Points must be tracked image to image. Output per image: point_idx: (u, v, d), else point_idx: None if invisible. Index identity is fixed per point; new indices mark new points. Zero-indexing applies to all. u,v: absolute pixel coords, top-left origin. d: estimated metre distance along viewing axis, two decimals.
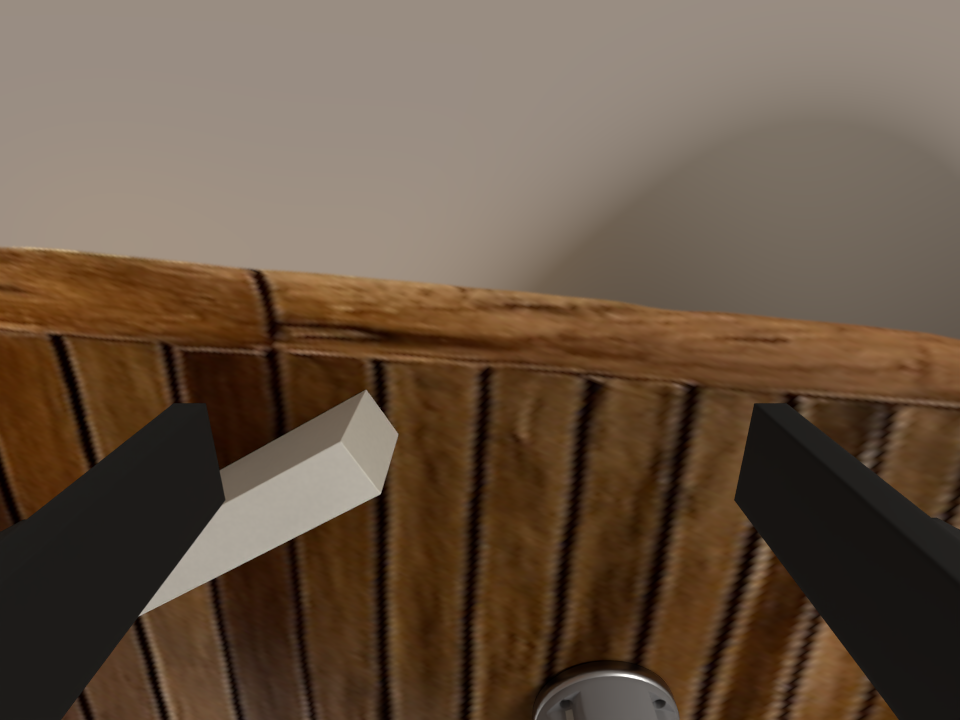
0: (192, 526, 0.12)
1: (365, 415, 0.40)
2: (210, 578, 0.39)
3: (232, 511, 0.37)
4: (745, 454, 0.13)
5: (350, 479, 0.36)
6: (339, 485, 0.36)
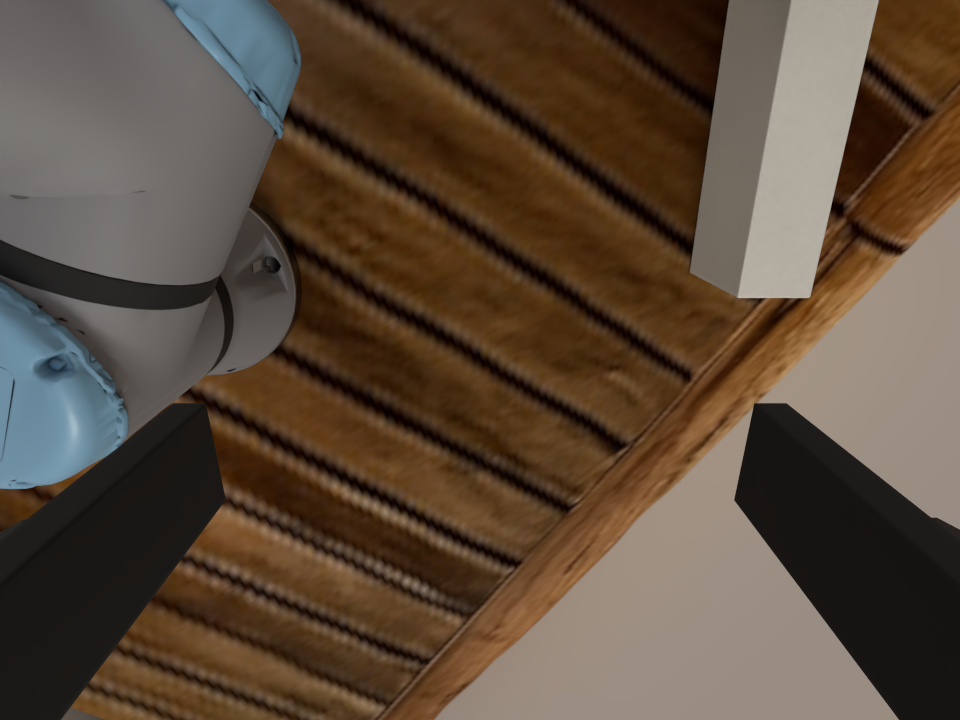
0: (192, 527, 0.12)
1: None
2: (788, 31, 0.29)
3: (834, 135, 0.31)
4: (745, 454, 0.13)
5: (771, 281, 0.34)
6: (774, 266, 0.34)
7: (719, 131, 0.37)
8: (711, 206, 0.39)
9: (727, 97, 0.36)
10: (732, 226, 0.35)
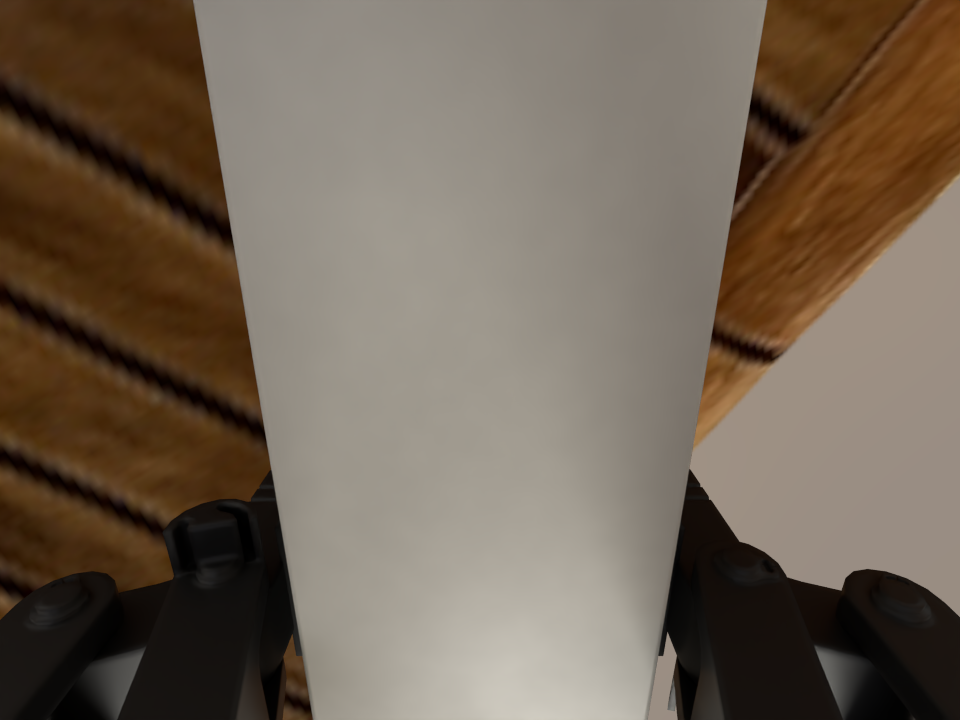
0: None
1: None
2: None
3: (648, 252, 0.05)
4: None
5: None
6: None
7: None
8: None
9: None
10: None
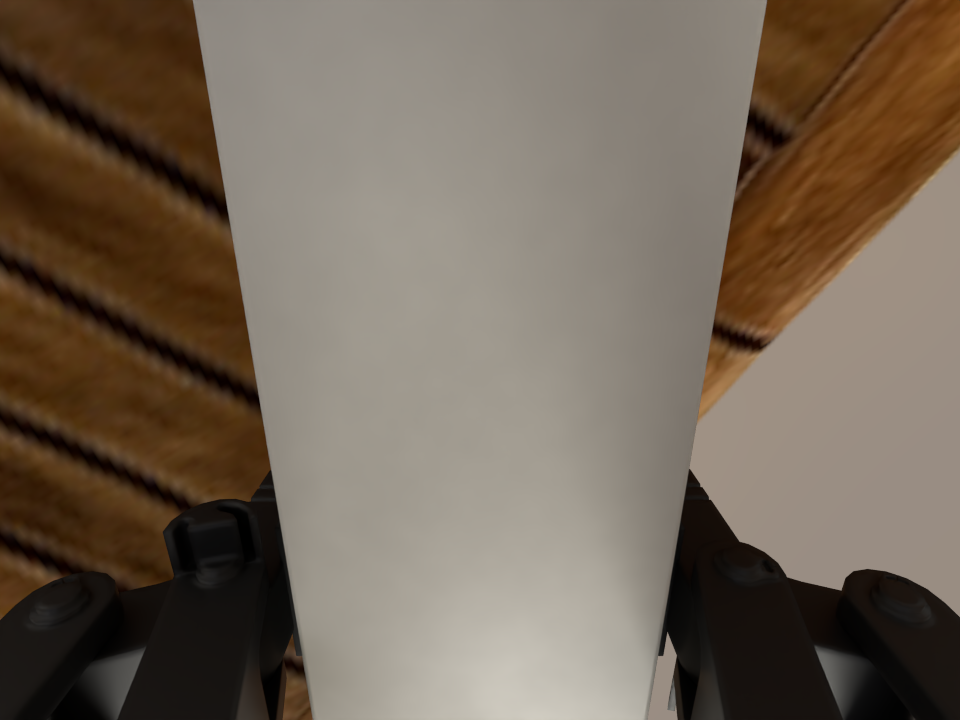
0: None
1: None
2: None
3: (647, 252, 0.05)
4: None
5: None
6: None
7: None
8: None
9: None
10: None
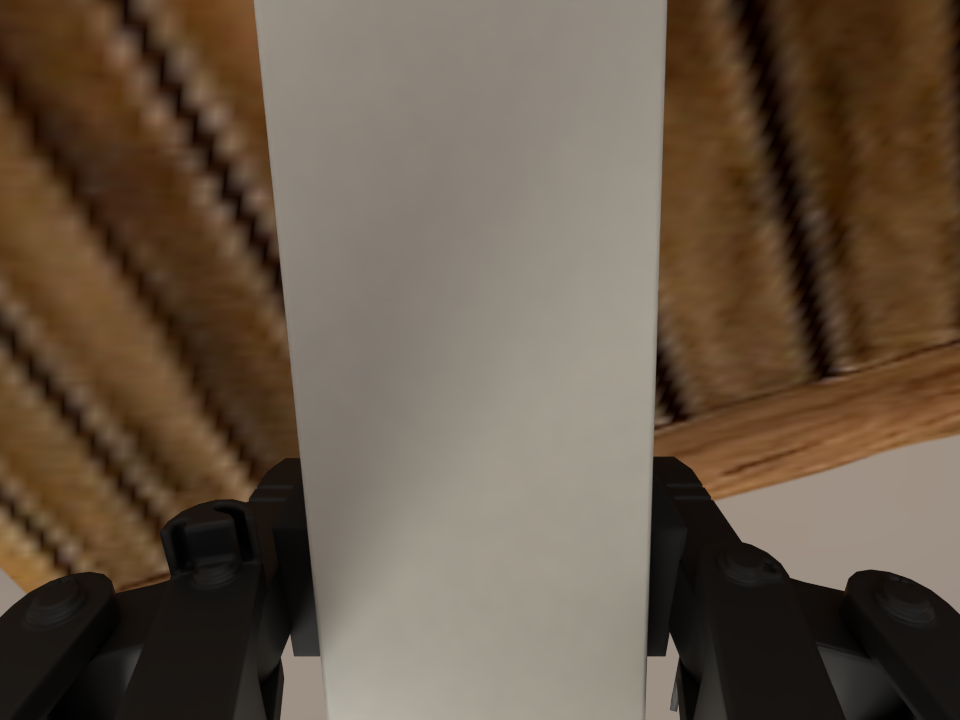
0: None
1: None
2: None
3: (600, 111, 0.06)
4: None
5: None
6: (457, 680, 0.08)
7: None
8: None
9: None
10: None
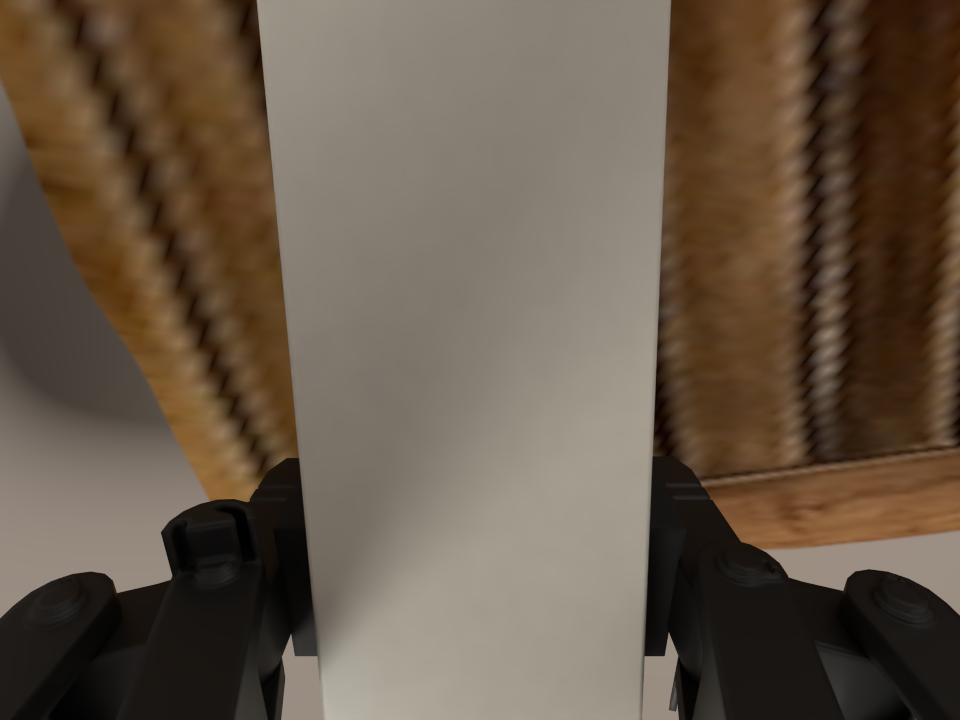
0: None
1: None
2: None
3: (602, 116, 0.06)
4: None
5: None
6: (455, 684, 0.08)
7: None
8: None
9: None
10: None
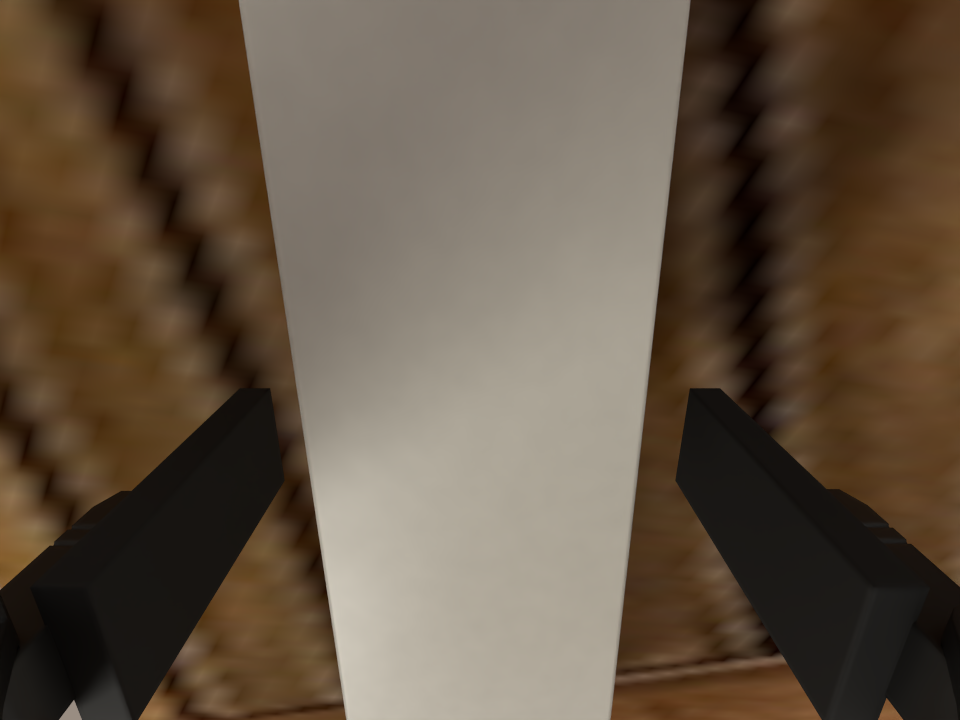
0: (260, 503, 0.12)
1: None
2: None
3: (603, 214, 0.06)
4: (684, 436, 0.13)
5: (458, 717, 0.09)
6: (455, 678, 0.09)
7: None
8: None
9: None
10: None
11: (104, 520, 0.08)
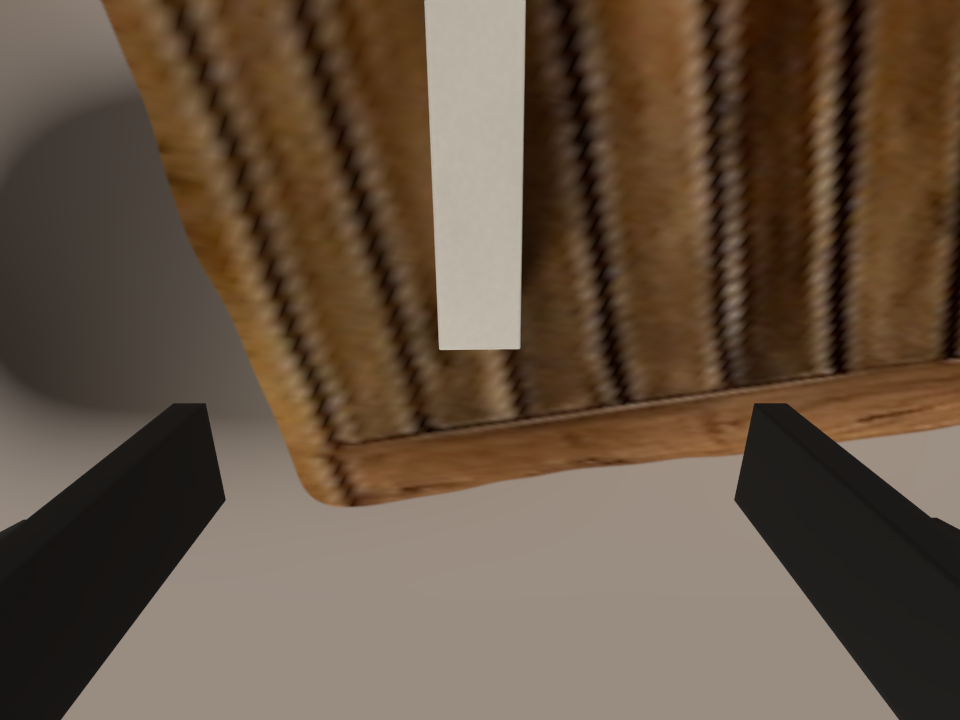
0: (192, 526, 0.12)
1: None
2: (429, 58, 0.26)
3: (508, 173, 0.28)
4: (745, 454, 0.13)
5: (473, 331, 0.31)
6: (472, 316, 0.31)
7: None
8: None
9: None
10: None
11: None
